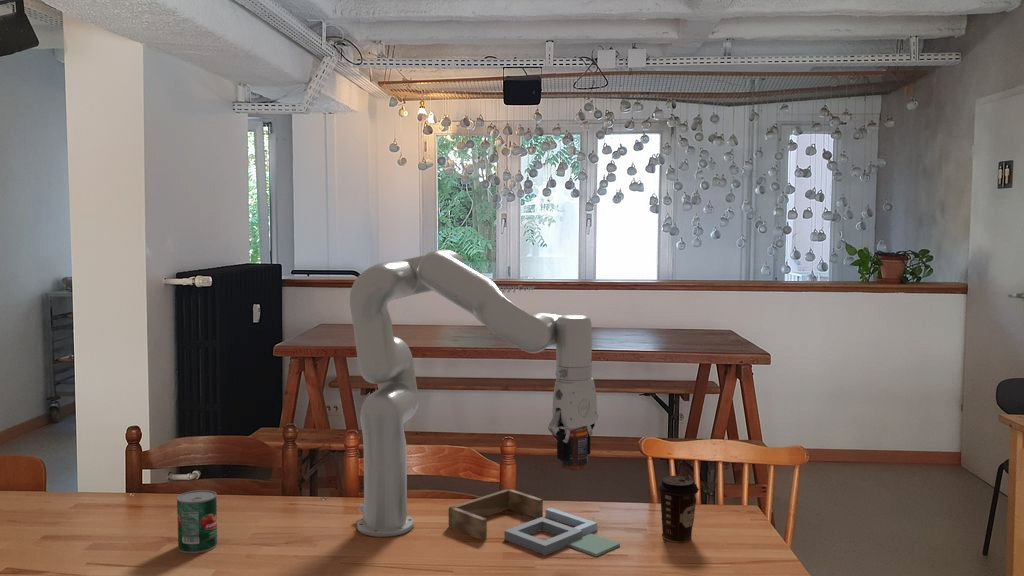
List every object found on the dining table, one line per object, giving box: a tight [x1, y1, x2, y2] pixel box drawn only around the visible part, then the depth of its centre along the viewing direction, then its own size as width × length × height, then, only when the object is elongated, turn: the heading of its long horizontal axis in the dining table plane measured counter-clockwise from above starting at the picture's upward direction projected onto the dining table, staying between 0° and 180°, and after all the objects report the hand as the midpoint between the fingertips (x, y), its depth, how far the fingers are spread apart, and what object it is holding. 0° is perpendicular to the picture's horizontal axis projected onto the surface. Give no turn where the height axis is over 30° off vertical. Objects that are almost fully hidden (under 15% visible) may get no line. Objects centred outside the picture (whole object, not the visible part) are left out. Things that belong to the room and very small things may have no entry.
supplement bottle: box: [559, 425, 589, 471], centre depth 177 cm, size 6×6×11 cm
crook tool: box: [545, 507, 598, 537], centre depth 189 cm, size 14×7×2 cm, turn 46°
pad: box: [566, 533, 621, 558], centre depth 178 cm, size 8×8×1 cm
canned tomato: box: [176, 489, 218, 554], centre depth 175 cm, size 8×8×11 cm
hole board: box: [503, 516, 583, 556], centre depth 181 cm, size 12×12×2 cm
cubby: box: [448, 488, 544, 541], centre depth 191 cm, size 11×19×4 cm, turn 136°
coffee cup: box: [658, 475, 700, 543], centre depth 182 cm, size 9×8×13 cm
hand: (573, 455), depth 178 cm, fingers closed on supplement bottle, 6 cm apart
